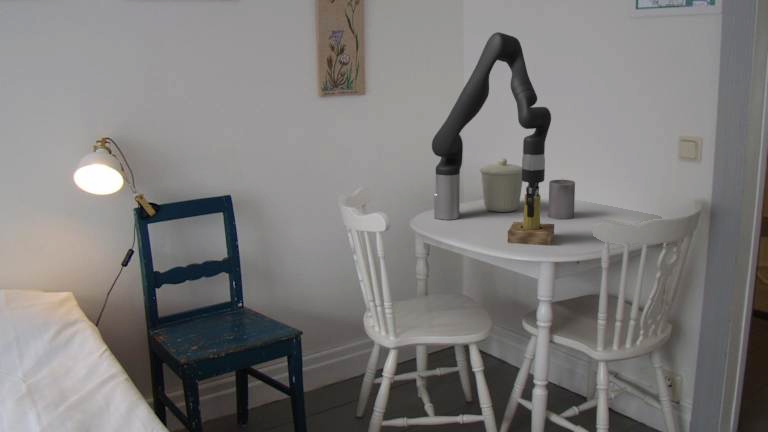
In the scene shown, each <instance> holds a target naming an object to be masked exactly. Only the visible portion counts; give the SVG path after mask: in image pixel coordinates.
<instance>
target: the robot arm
mask: <svg viewBox="0 0 768 432" xmlns="http://www.w3.org/2000/svg"><path fill="white" fill-rule="evenodd" d="M524 57H525V56H524V53H523V48H522V45H521V42H520V41H519V39H518V38H517V37H515V36H513V35H510V34H507V33H503V32H497V31H496V32H494V33H493V34H491V35H490V36H489V38H488V39H487V41H486V43H485V46H484V48H483V50H482V52H481V54H480V56H479V59H478V60H477V64H476V65H475V68H474V69H473V71H472V74H471V75H470V76H469V79H468V81H467V82H466V84H465V86H464V87H463V88H462V91H461V92H460V94H459V96H458V98H457V99H456V102H455V103H454V105H453V107H452V109H451V110H450V113H448V114H449V115H448V116H447V118H446V120H444V123H443V124H442V126H440V128H439V129H438V131H437V132H436V133H435V135H434V137H433V138H432V141H431V150H432V152H433V154H434V155H436V157H439V158H440V160H439V162H438V163H437V165H436V166H435V193H434V194H433V195H434V197H433V199H434V200H433V202H434V203H433V209H434V210H433V218H434V219H438V220H445V221H446V220H447V221H450V220H457V219H459V218H460V206H461V204H460V200H461V199H460V195H461V194H460V190H461V187H460V185H461V184H460V183H461V181H460V178H461V177H460V174H461V171H460V170H461V168H462V165H463V151H464V150H463V148H464V146H463V139H462V136H461V135H460V133H461V132H462V130H463V129H464V128H465V127H466V126H467V124H469V123H470V122H471V121H472V120H473V119H474V118H475V117H476V116H477V115H478V114H479V112H480V111H481V110H482V108H483V106H484V105H485V103H486V101H487V100H488V98H489V94H490V74H491V71H492V69H493V68H494V65H495V63H496V62H497V61H500V62H503V63H506V64H507V65H508V67H509V68H510V71H511V77H510V78H511V79H510V90H511V93H512V95H513V98H514V101H515V103H516V108H517V119H518V123H519V125H520V126H521V127H522V128H523V129H526V130H533V129H534V132H533V133H532V134H530V135H526V136H525V137H524V139H523V141H522V145H523V147H522V161H521V167H522V182H524V183H528V185H527V186H526V189H525V192H526V205H527V217H534V205H535V201H536V200H537V194H539V195H540V186H539V184H540V183H543V182H544V181H545V176H546V175H545V172H546V169H545V168H546V159H545V158H546V155H545V147H546V139H547V136H548V132H549V129H550V126H551V122H552V114H551V111H550V109H549V108H548V107H545V106H534V105H536V103H537V102H538V96H537V93H536V90H535V88H534V86H533V84H532V82H531V79H530V76H529V74H528V70H527V69H528V68H527V65H526V61H525V58H524ZM534 196H535V197H534ZM529 200H532V202H529Z"/></svg>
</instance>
